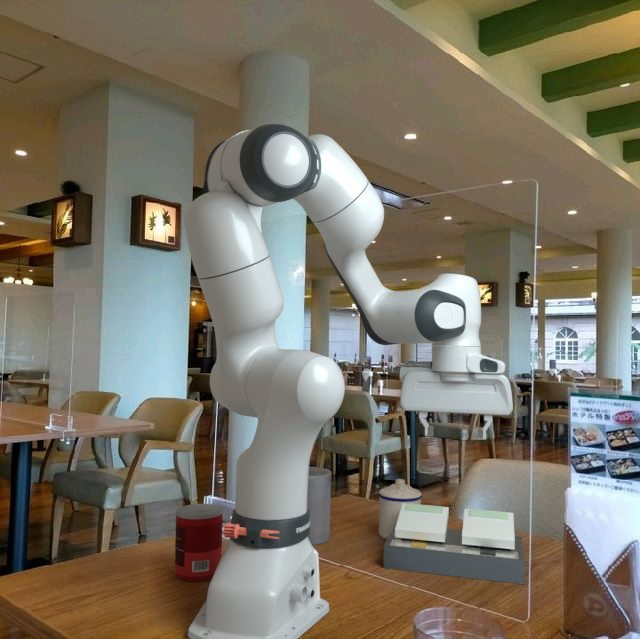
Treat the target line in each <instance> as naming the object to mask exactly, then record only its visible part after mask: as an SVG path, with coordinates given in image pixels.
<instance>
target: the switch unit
mask: <svg viewBox="0 0 640 639" xmlns="http://www.w3.org/2000/svg"><path fill="white" fill-rule="evenodd" d="M395 527H396V525H395V526H394V528H393V530H392V532H391V534H390V535H389V537H388V539H386V541H385V542H384V544H383V569H389V570H397V571H398V570H399V571H407V572H415V573H425V574H432V575H440V576H450V577H458V578H467V579H474V580H476V579H477V580H485V581H493V582H499V583H507V584H508V583H512V584H517V585H518V584H519V585H525V567H526V566H525V553H524V548H523V547H524V545H523V539H522V535H515V550H514V549H505V548H495V547H485V546H476V545H466V544H462V530H463V529H462V530H460V529H451V528H447V531H446V538H445V542H437V541H427V540H417V539H408V538H398V537H395Z"/></svg>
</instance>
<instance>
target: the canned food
mask: <svg viewBox="0 0 640 639" xmlns="http://www.w3.org/2000/svg"><path fill="white" fill-rule="evenodd" d="M223 513H224V512H223V508H222V506H219V505H218V504H217V505H216V504H212V503H193V504H187V505H184V506H180V507H179V508H177V509H176V513H175V544H174V546H175V549H174V551H175V552H174V573H175V576H176V577H177V579H179V580H181V581H184V582H191V583H192V582H195V583H197V582H204V581H208V580H212V578H213V575H214V573H215V571H216V568H217V566H218V564H219V562H220V559H221V557H222V555H223V553H222V552H223V549H222V548H223V522H224V521H223V519H224V518H223Z"/></svg>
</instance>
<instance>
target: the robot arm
mask: <svg viewBox="0 0 640 639" xmlns="http://www.w3.org/2000/svg"><path fill="white" fill-rule="evenodd" d="M203 175H204V176H203V178H204V179H203V180H204V181H203V187H202V190H201V195H200V196H198V197H196V198H195V199H194V200H193V201H192V202H191V203H190V204H189V205H188V207H187V208H186V210H185V213H184V215H183V216H184V218H183V219H184V227H185V235H186V239H187V245H188V249H189V254H190V258H191V261H192V265H193V269H194V272H195V274H196V277H197V281H198V282H199V286H200V288H201V291H202V295H203V298H204V300H205V302H206V303H205V304H206V306H207V308H208V312H209V315H210V317H211V318H210V319H211V321H212V326H213V328H214V336H215V344H216V360H215V362H214V365H213V366H212V368H211V372H210V376H209V387H210V392H211V394H212V397H213V398H214V400H215V401H216V402H217V403H218V404H219V405H220V406H222V407H224V408H225V409H227V410H229V411H231V412H233V413H235V414H238V415H240V416H243V417H244V416H246V417H251V418H257V424H256V429H255V432H254V437H253V439H252V442H251V443H250V445H249V447H247V448H246V449H245V450H244V451H242V452H241V454H240V455H239V456H238V458H237V461H236V466H235V468H236V469H235V504H234V505H235V506H234V507H235V508H234V509H233V510H232V514H231V518H230V522H226V523H225V524H224V527H223V530H222V534H223V537H224V538H226V539H227V538H228V539H229V541H227V545H226V547H225V549H224V550H223V553H222V557H221V559H220V562H219V564H218V566H217V568H216V571H215V573H214V575H213V578H212V579H210V583H209V584H208V587H207V588H208V589H207V593H206V594H207V596H206V600H205V602H204V603H203V605H202V607H201V608H200V609H199V611H198V613H197V615H196V616H195V618H194V619H193V620H192V623H191V624H190V625H189V628H188V629H187V637H188V638H189V639H299V638H300V637H301V636H302V635H303V634H305V633H306V632H307V631H308V630H309V629H310V628H312V626H314V625H315V624H316V623H318V622H319V621H320V620H321V619H322V618H323V617H325V616H326V615H327V614H328V613H329V612H330V604H329V601H327V600H325V599H323V598H321V593H320V591H321V590H320V564H319V563H320V561H319V552H318V551H317V550H316V548H314V545H311V543H310V541H309V538H308V536H309V534H310V512H309V510H308V509H307V494H308V473H309V466H310V460H311V456H312V452H313V449H314V445H315V443H316V440H317V438H318V436H319V433H320V432H321V430H322V428H323V427H324V426H325V424H326V423H327V422H328V421H330V419H331V418H333V417H334V416H335V415H336V414H337V412H338V411H339V409H340V408H341V406H342V404H343V400H344V398H345V397H344V396H345V392H346V390H345V386H346V385H345V384H346V383H345V378H344V374H343V371H342V369H341V368H340V366H339V364H338V363H337V362H336V361H335V360H333V359H332V358H330V357H328V356H325V355H322V354H319V353H316V352H313V351H310V350H307V349H286V348H280V346H279V344H278V343H277V338H276V321H277V319H278V318H279V317H280V316H281V314H282V312H283V311H284V306H285V305H284V304H285V300H284V295H283V292H282V289H281V286H280V283H279V280H278V277H277V274H276V271H275V268H274V266H273V262H272V259H271V256H270V252H269V250H268V247H267V243H266V242H265V239H264V237H263V232H262V214H263V210H264V207H268V206H271V205H274V204H277V203H283V202H287V201H290V200H294V201H295V202H297V203H298V204H299V206H301V207H302V209H303V211H305V213H306V214H307V216H308V218H309V219H310V221H311V222H312V223H313V224H314V226H315V227H316V228H317V230H318V232H319V234H320V236H321V238H322V239H323V247H324V251H325V254H326V256H327V258H328V260H329V263H330V264H331V266H332V268H333V270H334V272H335V274H336V275H337V276H338V279H339V280H340V281H341V283H342V285H343V286H344V288H345V290H346V291H347V293H348V295H349V297H350V299H352V301H353V303H354V304H355V307H356V309H357V311H358V313H359V316H360V319H361V322H362V326H363V328H364V330H365V332H366V334H367V335H368V337H369V338H370V339H371V340H372V341H373V342H374V343H376V344H378V345H380V346H392V345H400V344H404V345H405V344H407V345H409V344H410V345H411V344H413V345H414V344H417V345H418V344H431V361H428V360H427V361H426V360H424V361H423V360H421V361H414V360H409V361H407V362H406V363H404V364H402V365H401V366H400V368H399V382H400V383H401V389H400V390H401V391H400V397H399V407H400V408H401V409H402V410H403V411H406V412H407V411H408V412H418V418H419V421H420V422H421V424H422V425H423V427H424V437H427V438H428V437H430V438H431V437H434V434H435V433H434V430H435V428H434V427H435V426H434V425H430V424H429V422H428V421H427V419H426V418H427V417H428V415H429V414H428V413H430V412H431V413H445V414H446V413H447V414H448V413H449V414H467V415H468V414H470V415H471V414H472V415H484V416H483V418H484V419H483V420H484V421H485V424H484V425H483V427H482V428H477V440H482V441H486V440H487V431H488V430H489V427H491V426H490V425H491V424H492V422H493V415H494V416H510V414H512V413H513V411H514V405H513V394H512V393H513V392H512V387H511V382H510V380H509V378H508V377H507V376H506V375H505V374H504V373H505V372H506V369H507V366H506V363H505V362H504V361H503V360H500V359H497V358H494V357H492V356H491V355H484V354H482V345H481V339H480V334H479V333H480V328H481V325H482V303H481V302H482V300H481V294H480V288H479V285H478V284H479V283H478V282H477V279H475V278H474V277H473V276H470V275H468V274H464V273H460V272H459V273H457V272H443V273H440V274H438V275H437V276H436V278H435V280H434V281H433V282H430V283H429V284H427V285H425V286H423V287H420V288H419V289H412V290H411V289H410V290H398V291H397V290H392V289H390V288H387V287H386V286H384V285H383V283H382V282H381V281H380V280H381V279H380V278H379V277H378V275H377V273H376V271H375V270H374V268H373V265H372V264H371V263H370V261H369V259H368V257H367V253H366V249H367V248H368V247H369V246H370V245H371V244H372V243H373V241H374V240H375V239H376V238H377V237H378V235H379V234H380V232H381V229H382V227H383V224H384V220H385V208H384V205H383V203H382V200H381V198H380V196H379V194H378V192H377V191H376V190H375V188H374V186H373V185H372V184H371V182H370V181H369V179H368V178H367V176H366V175H365V174H364V172H363V171H362V170H361V168H360V167H359V166H358V165H357V163H356V162H355V161H354V160H353V158H351V156H350V155H349V154H348V153H347V152H346V151H345V149H344V148H343V147H342V146H341V145H340V144H338V142H337V141H335V140H334V139H333V138H332V137H331V136H328V135H326V134H322V133H316V134H311V135H309V136H305V135H304V134H303V133H301V132H300V131H299V130H296V129H295V128H293V127H291V126H289V125H286V124H280V123H269V124H262V125H259V126H257V127H255V128H252V129H246V130H243V131H240V132H238V133H235V134H234V135H232V136H231V137H229V138H227V139H225V140H223V141H221V142H220V143H218V144H217V145H216V146H215V147H214V148H213V149H212V150H211V151H210V152H209V155H208V157H207V159H206V162H205V166H204V174H203Z"/></svg>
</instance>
